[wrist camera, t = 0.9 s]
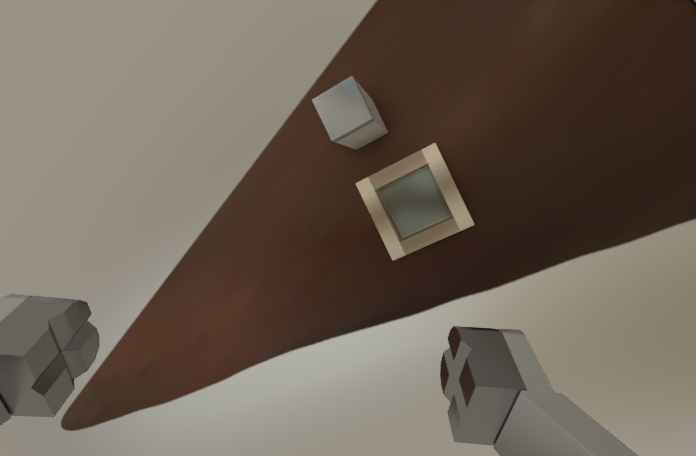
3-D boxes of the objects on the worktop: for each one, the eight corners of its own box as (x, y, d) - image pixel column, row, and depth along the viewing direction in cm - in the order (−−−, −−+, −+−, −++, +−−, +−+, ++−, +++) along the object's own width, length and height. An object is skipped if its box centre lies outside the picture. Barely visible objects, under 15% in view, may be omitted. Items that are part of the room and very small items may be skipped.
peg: (388, 132, 43) (372, 118, 33) (356, 150, 44) (331, 141, 34) (372, 99, 43) (351, 75, 33) (340, 117, 44) (311, 99, 34)
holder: (472, 221, 42) (474, 224, 38) (396, 254, 44) (392, 260, 41) (435, 145, 42) (435, 142, 38) (362, 183, 44) (355, 183, 41)
